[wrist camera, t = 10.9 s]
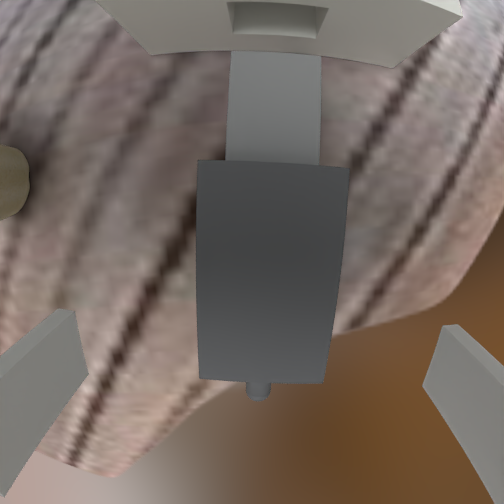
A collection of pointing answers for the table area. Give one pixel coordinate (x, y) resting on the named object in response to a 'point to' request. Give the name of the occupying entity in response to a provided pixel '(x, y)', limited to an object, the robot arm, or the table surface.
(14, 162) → the flower pot
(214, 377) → the plug
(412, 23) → the white rectangular block
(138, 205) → the table surface
